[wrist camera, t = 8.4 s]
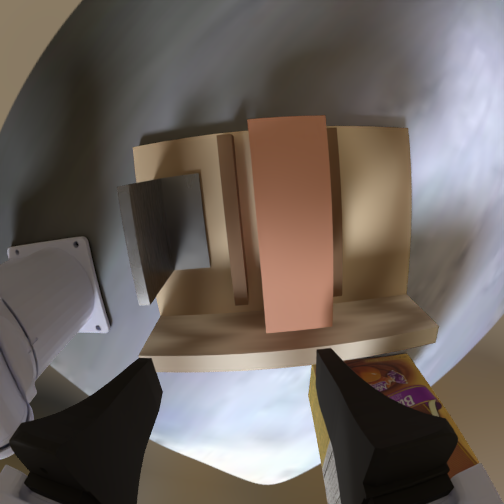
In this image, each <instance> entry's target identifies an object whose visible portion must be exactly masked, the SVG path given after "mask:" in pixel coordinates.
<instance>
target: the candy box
mask: <svg viewBox="0 0 504 504" xmlns="http://www.w3.org/2000/svg"><path fill="white" fill-rule="evenodd" d="M344 362H345V363H346V364H347V365H348V366H349V367H350V368H351V369H352V370H353V371H354V372H355V373H356V374H357V375H359V376H360V377H361V378H362V379H363V380H364V381H366V382H367V383H368V384H370V385H371V386H372V387H374V388H375V389H376V390H378V391H379V392H381V393H383V394H384V395H386V396H387V397H389V398H391V399H393V400H395V401H397V402H399V403H401V404H403V405H405V406H407V407H410V408H412V409H415V410H418V411H420V412H423V413H426V414H430V415H434V416H438V417H442V418H446V419H447V421H448V422H449V423H450V425H451V426H452V428H453V429H454V431H455V433H456V435H457V436H458V443H457V445H456V448H455V450H454V451H453V453H452V455H451V456H450V458H449V460H448V461H447V464H448V466H449V468H450V471H449V472H448V475H449V478H450V479H451V478H452V477H453V476H455V475H456V474H458V473H460V472H462V471H464V470H466V469H468V468H470V467H472V466H474V465H476V464H478V463H479V461H478V459H477V458H476V456H475V454H474V453H473V451H472V449H471V448H470V446H469V445H468V443H467V441H466V440H465V438H464V437H463V435H462V433H461V432H460V430H459V429H458V427H457V425H456V424H455V422H454V421H453V419H452V418H451V416H450V415H449V413H448V412H447V410H446V409H445V407H444V406H443V404H442V403H441V401H440V400H439V398H438V397H437V396H436V394H435V393H434V391H433V390H432V388H431V387H430V385H429V384H428V382H427V381H426V380H425V378H424V377H423V375H422V374H421V373H420V371H419V370H418V368H417V367H416V365H415V364H414V362H413V361H412V359H411V358H410V357H409V355H408V354H398V355H393V356H385V357H378V358H367V359H355V360H344ZM315 384H316V364H314V365H312V368H311V377H310V386H309V393H308V397H309V401H310V406H311V411H312V416H313V421H314V426H315V432H316V437H317V443H318V448H319V454H320V459H321V465H322V470H323V477H324V483H325V489H326V496H327V502H328V504H341V500H340V492H339V484H338V478H337V471H336V465H335V459H334V454H333V449H332V445H331V441H330V438H329V435H328V432H327V429H326V425H325V422H324V419H323V416H322V413H321V409H320V406H319V402H318V397H317V391H316V385H315Z"/></svg>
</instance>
